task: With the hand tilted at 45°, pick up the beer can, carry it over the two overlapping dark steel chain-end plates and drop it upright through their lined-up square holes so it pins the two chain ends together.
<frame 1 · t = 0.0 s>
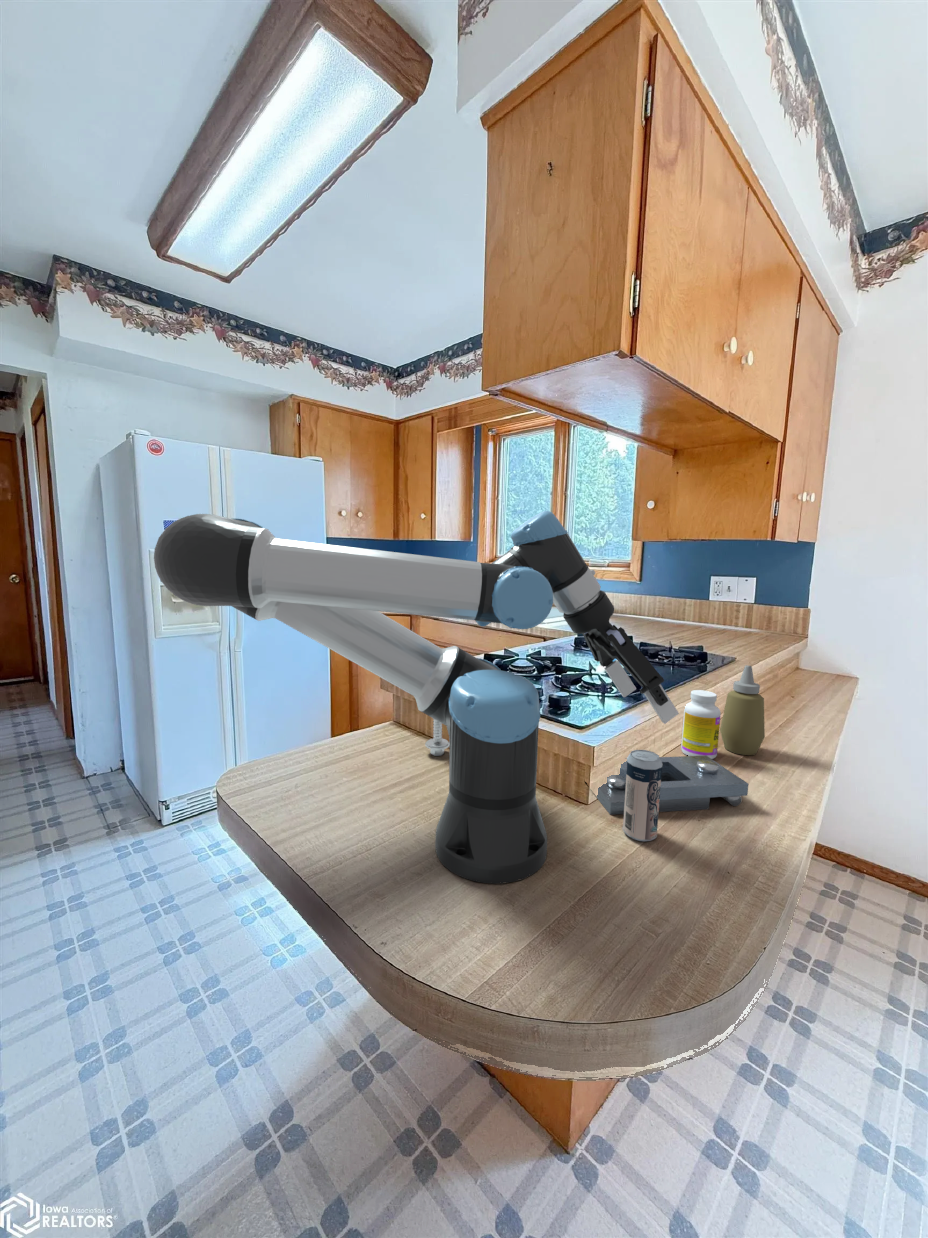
hand: (648, 704, 81), 15 cm above the worktop, tool tilted 35°, fingers open, 13 cm apart
screw: (437, 754, 97), on the worktop
beer can: (639, 835, 70), on the worktop
supplement bottle: (698, 755, 99), on the worktop
squeeze bottle: (740, 751, 101), on the worktop
right chain end: (658, 794, 82), on the worktop
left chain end: (658, 794, 82), on the worktop
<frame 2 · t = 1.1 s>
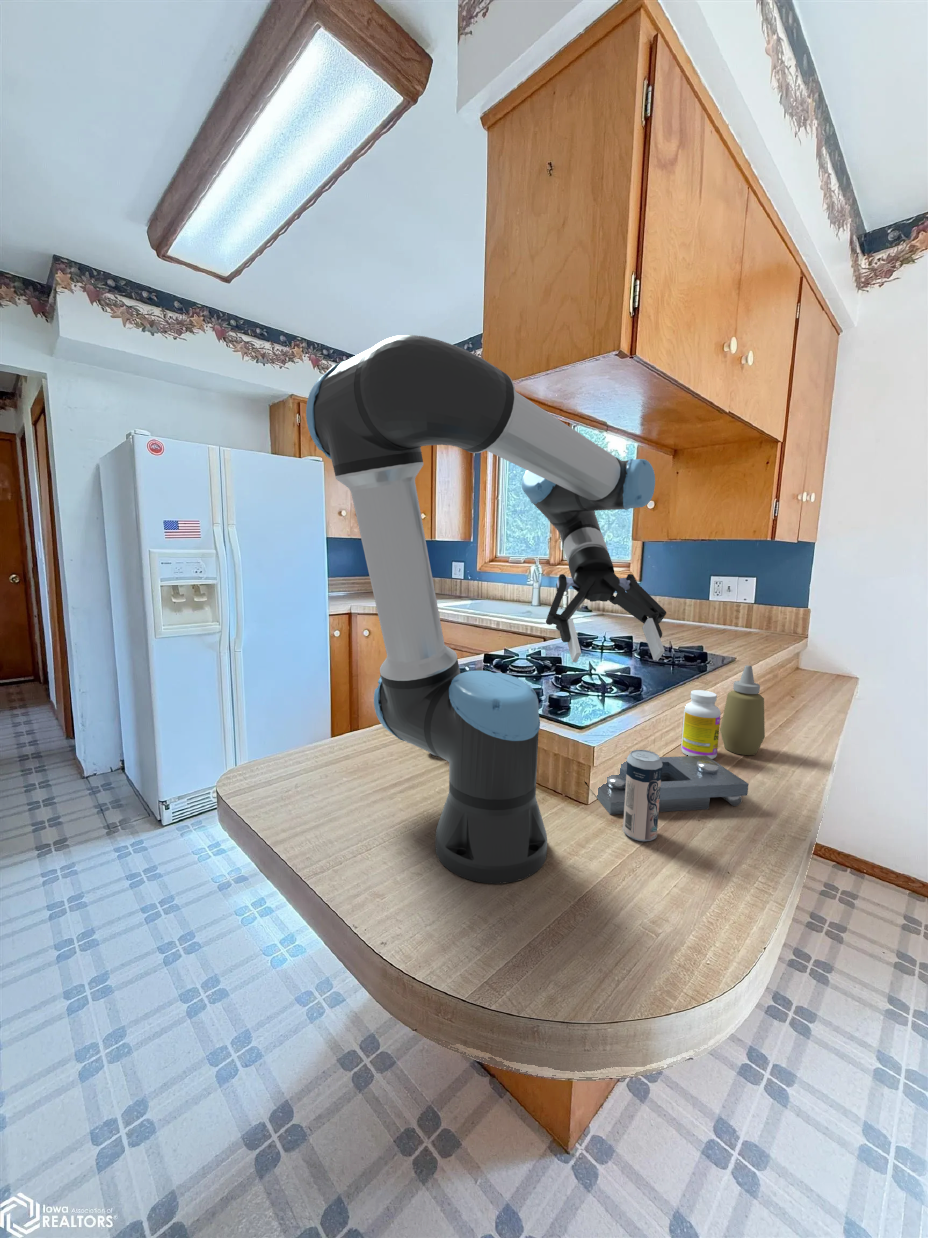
hand: (618, 656, 77), 24 cm above the worktop, tool tilted 45°, fingers open, 13 cm apart
nothing on the worktop moved.
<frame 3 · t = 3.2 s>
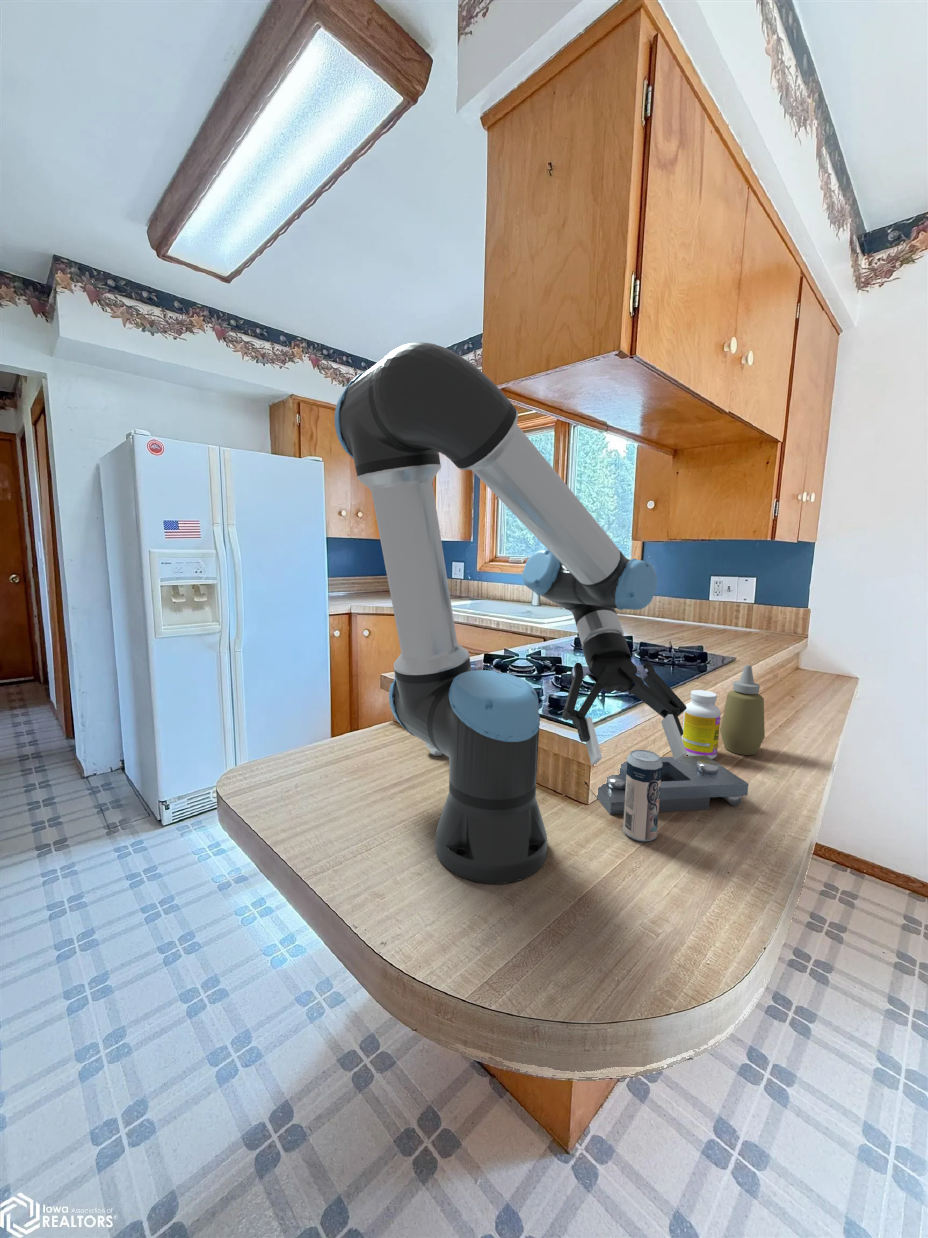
hand: (639, 759, 73), 9 cm above the worktop, tool tilted 45°, fingers open, 13 cm apart
nothing on the worktop moved.
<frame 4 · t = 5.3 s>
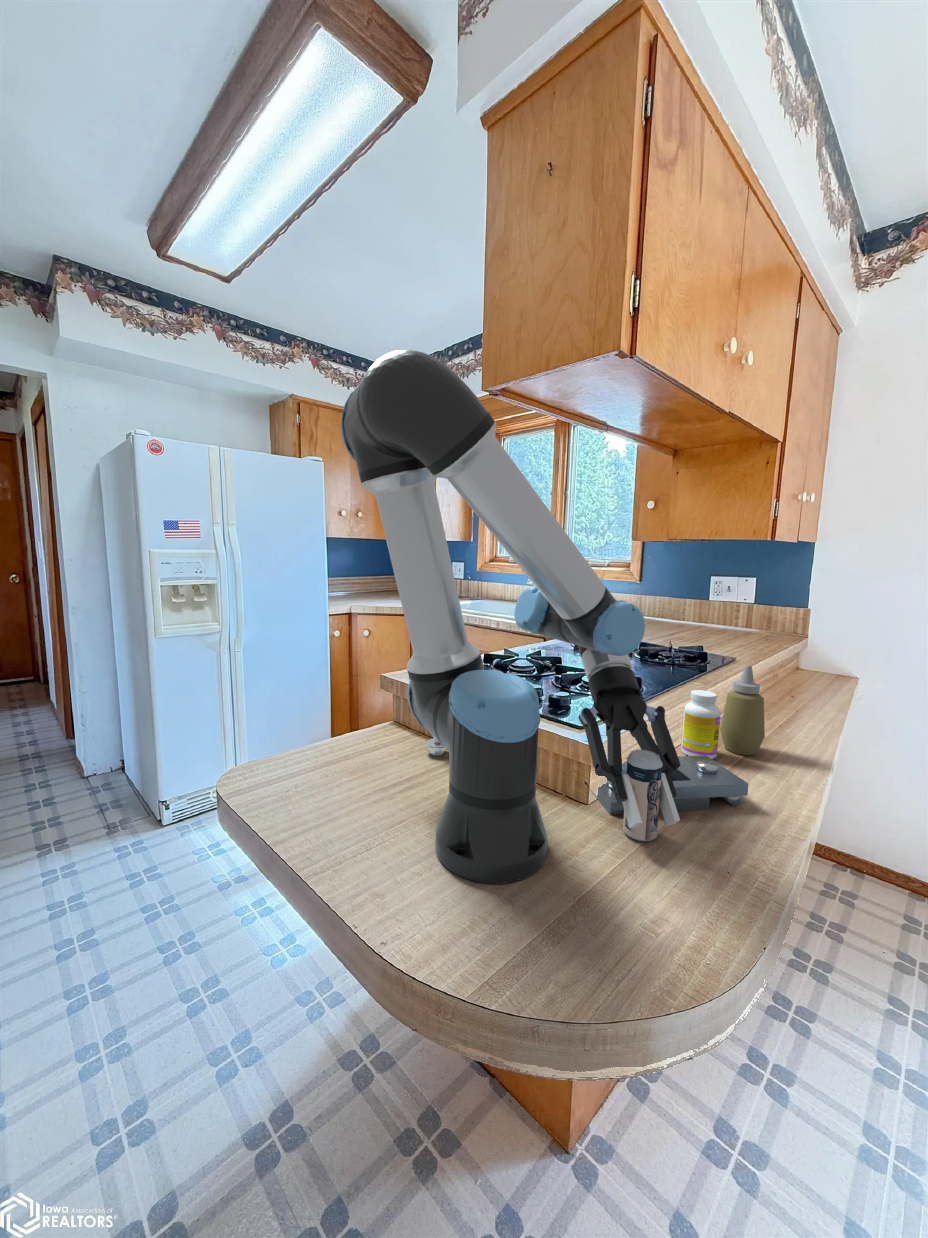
hand: (654, 824, 66), 4 cm above the worktop, tool tilted 45°, fingers closed on beer can, 5 cm apart
beer can: (639, 835, 70), on the worktop, touching gripper
everything else where it was.
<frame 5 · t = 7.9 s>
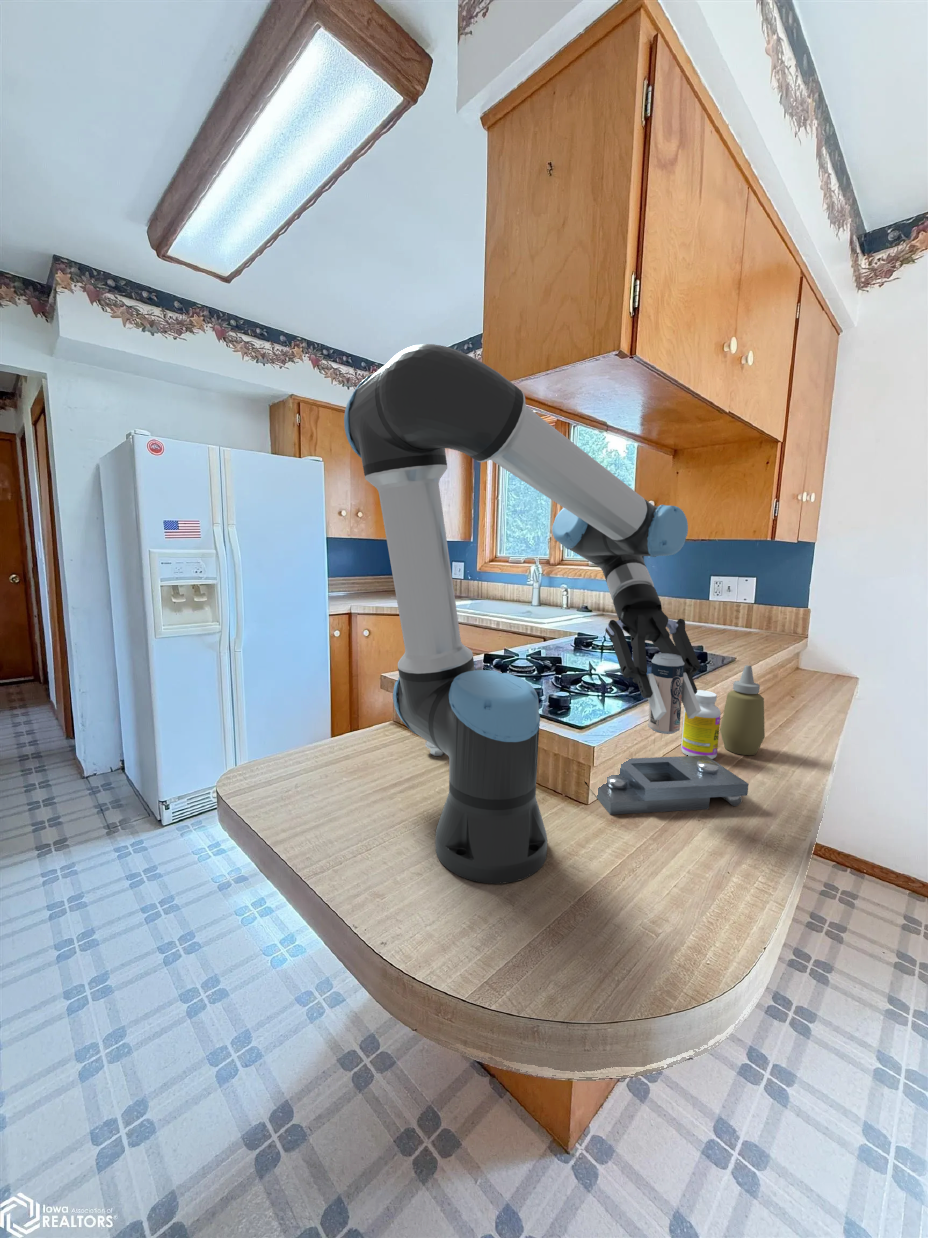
hand: (677, 715, 73), 16 cm above the worktop, tool tilted 45°, fingers closed on beer can, 5 cm apart
beer can: (663, 730, 77), point 12 cm above the worktop, touching gripper
everything else where it was.
when the fingers open (7 cm above the worktop, at t = 10.5 s): beer can drops 3 cm, resting in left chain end.
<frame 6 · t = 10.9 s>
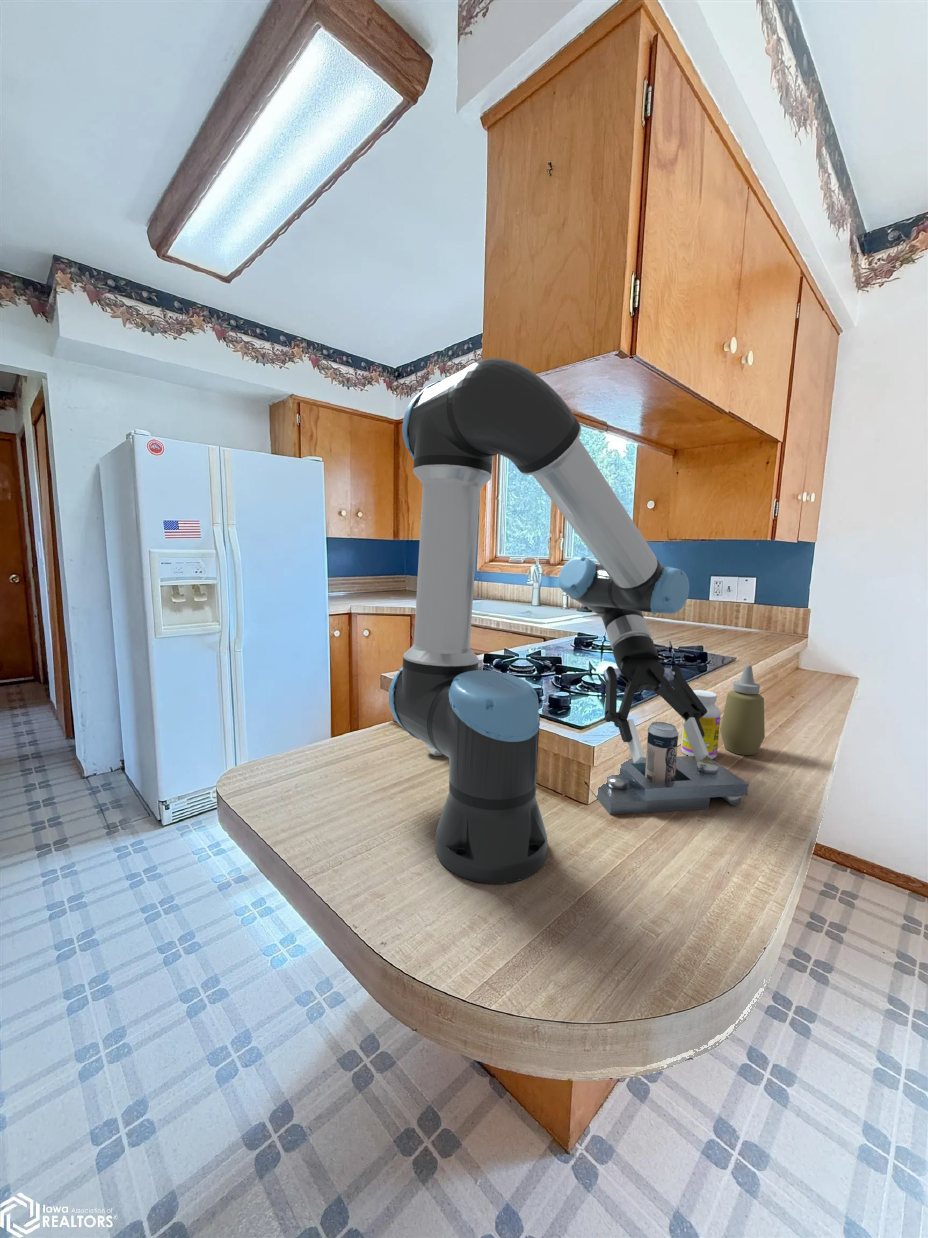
hand: (671, 759, 78), 8 cm above the worktop, tool tilted 45°, fingers open, 10 cm apart
beer can: (658, 795, 82), resting in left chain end
everything else where it was.
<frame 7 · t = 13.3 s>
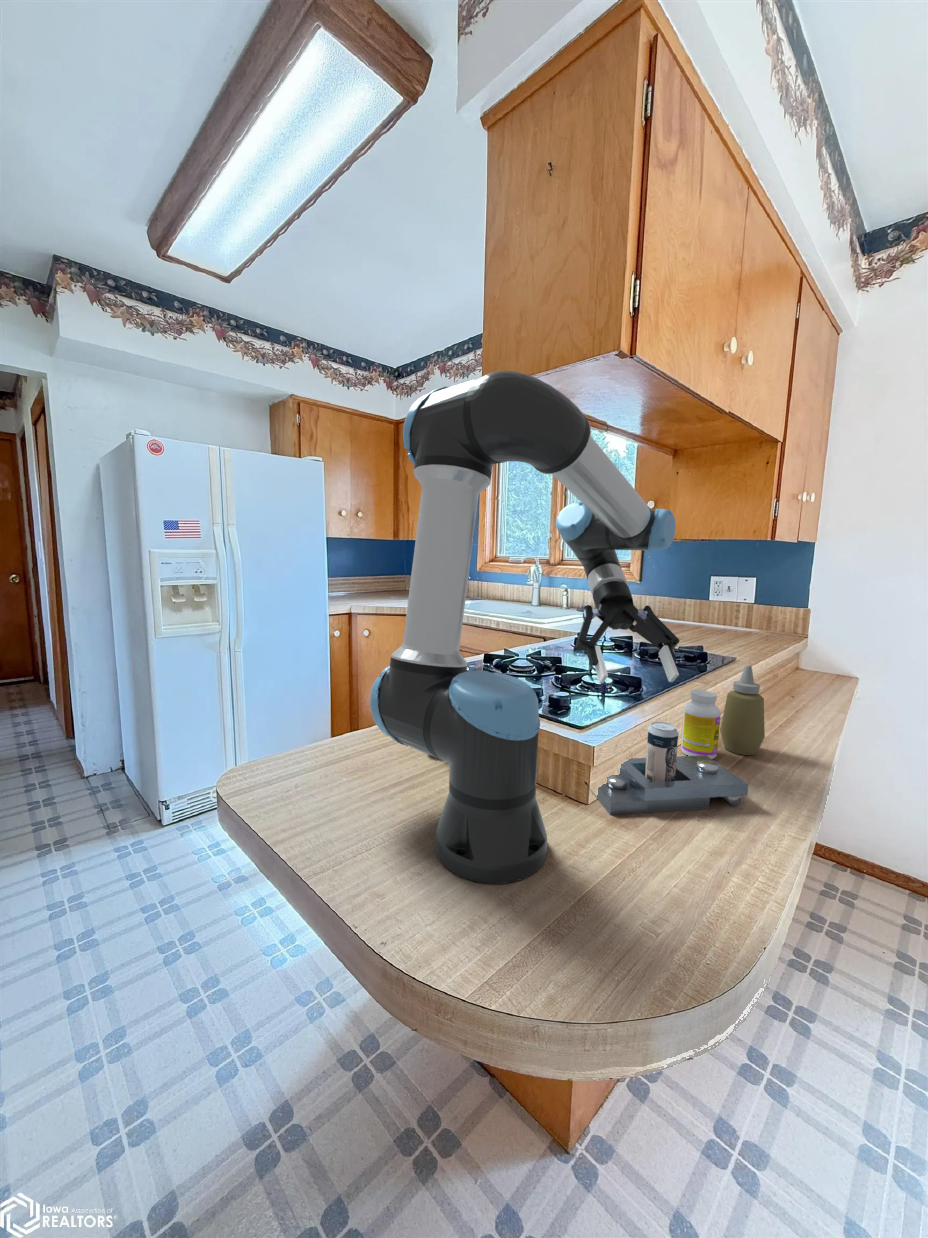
hand: (639, 679, 89), 17 cm above the worktop, tool tilted 45°, fingers open, 13 cm apart
nothing on the worktop moved.
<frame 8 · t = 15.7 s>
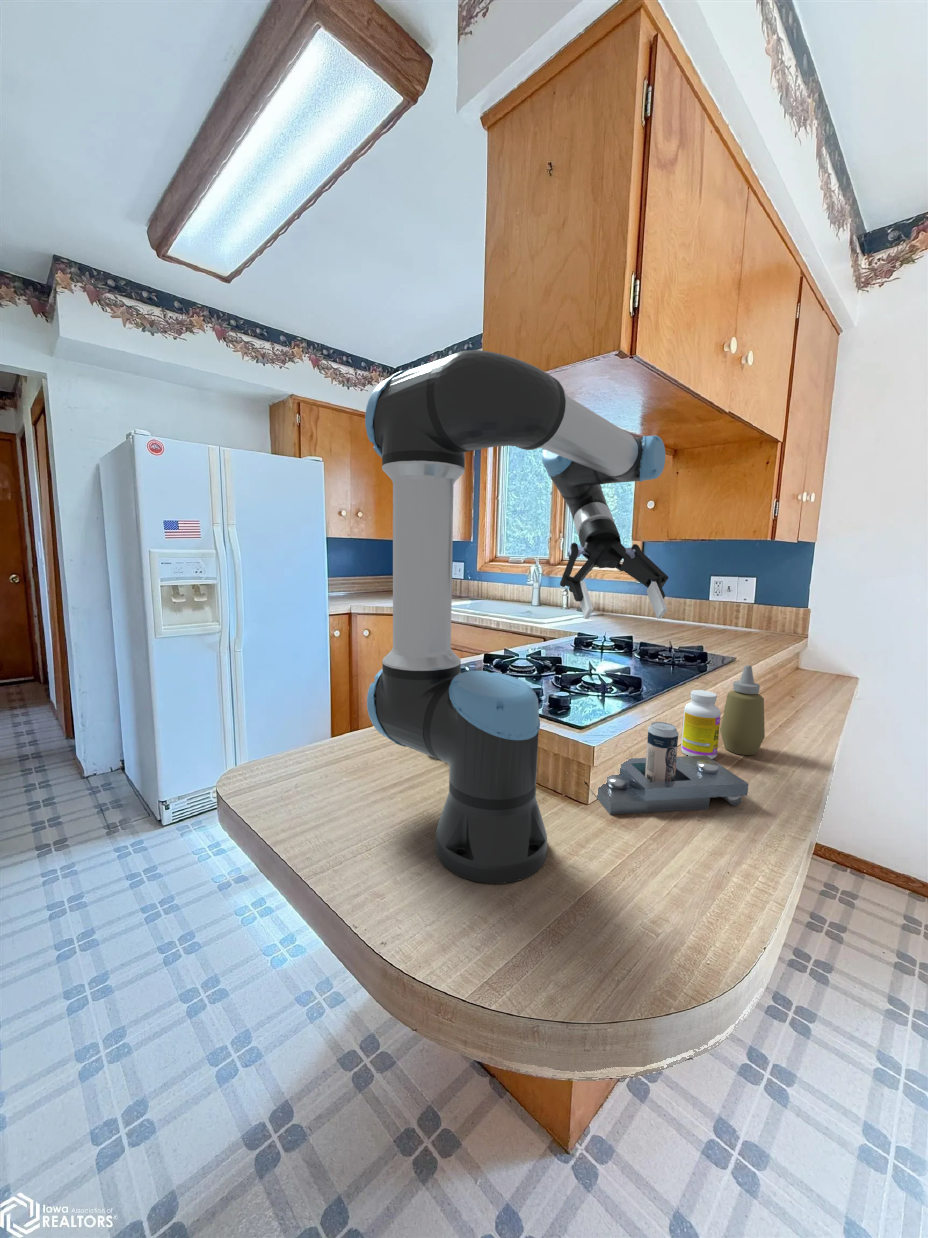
hand: (626, 614, 85), 30 cm above the worktop, tool tilted 45°, fingers open, 13 cm apart
nothing on the worktop moved.
at the end: beer can 0.0 cm off-centre on the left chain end, point 0.0 cm above the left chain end's base; beer can tilted 0°; the gripper is holding nothing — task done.
